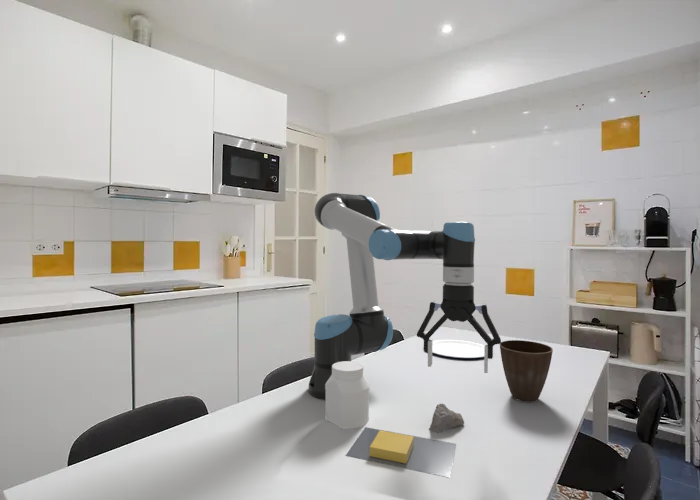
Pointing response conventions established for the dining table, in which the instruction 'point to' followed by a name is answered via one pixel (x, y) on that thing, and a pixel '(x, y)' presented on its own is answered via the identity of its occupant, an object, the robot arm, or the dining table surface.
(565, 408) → the dining table surface
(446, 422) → the stone
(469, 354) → the plate
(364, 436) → the slate board
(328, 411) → the jar
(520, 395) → the plant pot
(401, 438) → the yellow block
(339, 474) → the dining table surface
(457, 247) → the robot arm
